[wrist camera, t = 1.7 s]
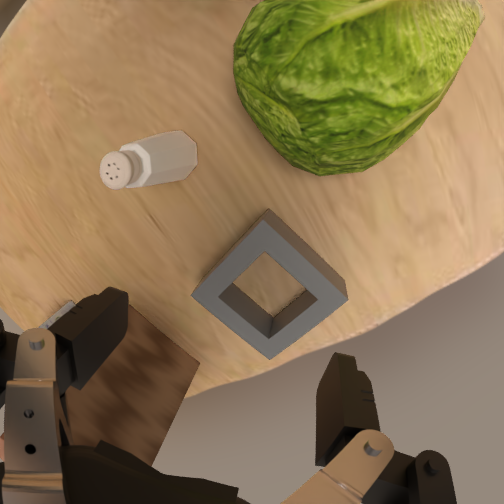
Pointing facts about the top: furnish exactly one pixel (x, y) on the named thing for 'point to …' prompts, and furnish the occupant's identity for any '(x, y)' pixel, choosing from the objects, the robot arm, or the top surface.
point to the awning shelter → (132, 393)
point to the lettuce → (348, 74)
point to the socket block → (252, 315)
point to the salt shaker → (150, 161)
